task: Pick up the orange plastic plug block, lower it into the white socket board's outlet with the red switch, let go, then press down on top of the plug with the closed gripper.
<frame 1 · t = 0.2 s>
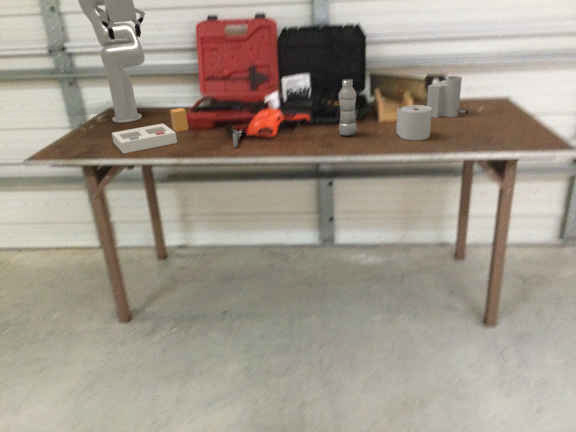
hand: (125, 38, 192), 36 cm above the table, tool pointing down, fingers open, 9 cm apart
plug: (180, 129, 208), on the table
socket board: (145, 142, 194), on the table
grey cylinder cluster: (449, 115, 205), on the table
caliper: (240, 140, 192), on the table
plastic bottle: (347, 135, 189), on the table
toilet tissue: (412, 136, 183), on the table
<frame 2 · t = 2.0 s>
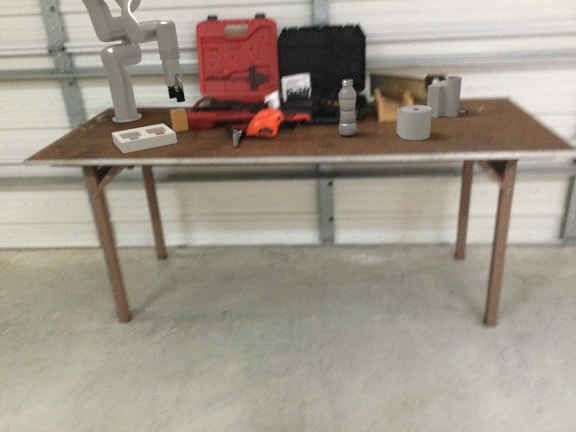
hand: (177, 100, 202), 12 cm above the table, tool pointing down, fingers open, 9 cm apart
nothing on the table moved.
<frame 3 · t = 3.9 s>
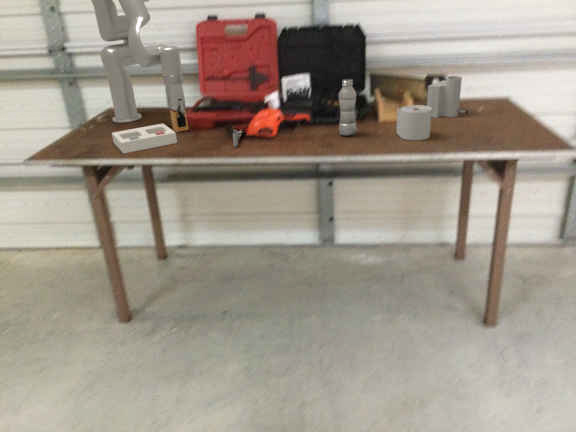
hand: (180, 124, 207), 2 cm above the table, tool pointing down, fingers closed on plug, 4 cm apart
plug: (180, 129, 208), on the table, touching gripper
everything else where it was.
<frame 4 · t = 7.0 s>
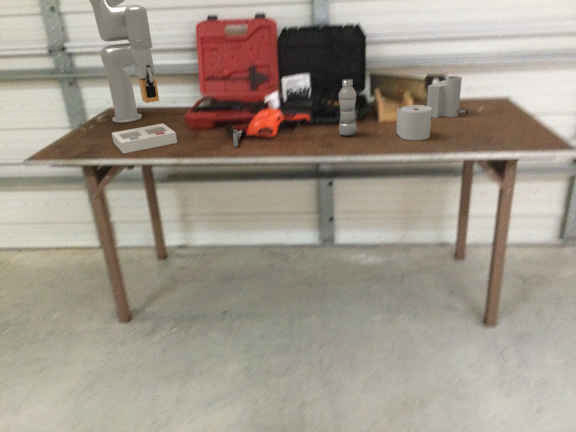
hand: (149, 95, 188), 17 cm above the table, tool pointing down, fingers closed on plug, 4 cm apart
plug: (150, 100, 189), point 15 cm above the table, touching gripper
everything else where it was.
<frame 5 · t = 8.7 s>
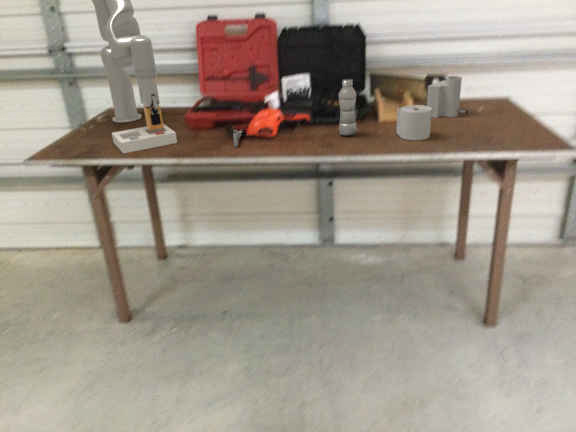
hand: (154, 122, 192), 7 cm above the table, tool pointing down, fingers closed on plug, 4 cm apart
plug: (155, 127, 193), point 5 cm above the table, touching gripper
everything else where it was.
when the fingers open (5 cm above the table, at t = 10.0 s): plug drops 3 cm, resting in socket board.
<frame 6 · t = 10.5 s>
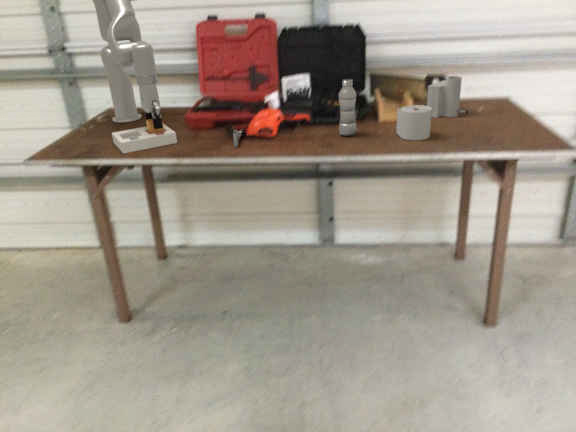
hand: (154, 125, 193), 6 cm above the table, tool pointing down, fingers open, 9 cm apart
plug: (157, 140, 196), resting in socket board
everything else where it was.
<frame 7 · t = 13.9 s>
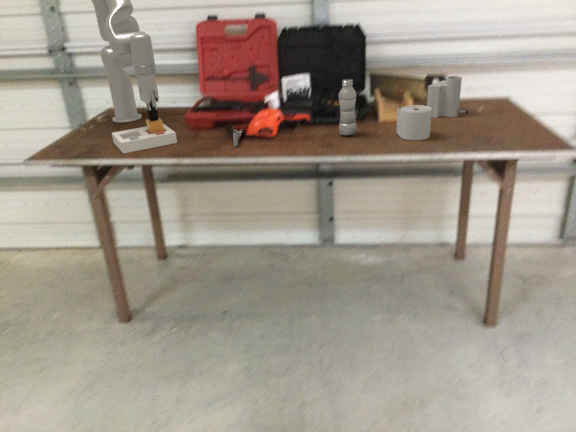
hand: (153, 120, 192), 8 cm above the table, tool pointing down, fingers closed
plug: (157, 140, 196), resting in socket board, touching gripper
everything else where it was.
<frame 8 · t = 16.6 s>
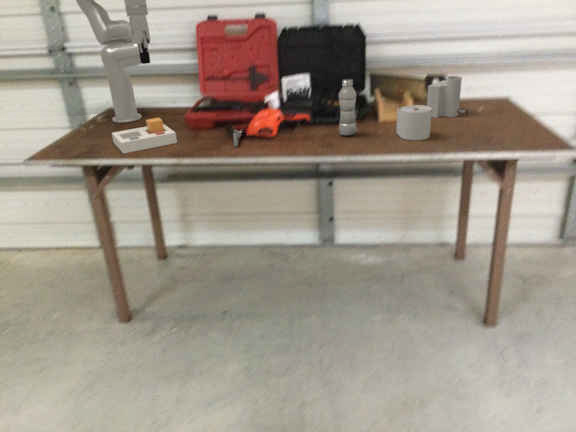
hand: (145, 63, 194), 27 cm above the table, tool pointing down, fingers closed
plug: (157, 140, 196), resting in socket board
everything else where it was.
at the end: plug 0.0 cm from the target spot on the socket board, point 0.0 cm above the socket board's base; plug tilted 0°; the gripper is holding nothing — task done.
